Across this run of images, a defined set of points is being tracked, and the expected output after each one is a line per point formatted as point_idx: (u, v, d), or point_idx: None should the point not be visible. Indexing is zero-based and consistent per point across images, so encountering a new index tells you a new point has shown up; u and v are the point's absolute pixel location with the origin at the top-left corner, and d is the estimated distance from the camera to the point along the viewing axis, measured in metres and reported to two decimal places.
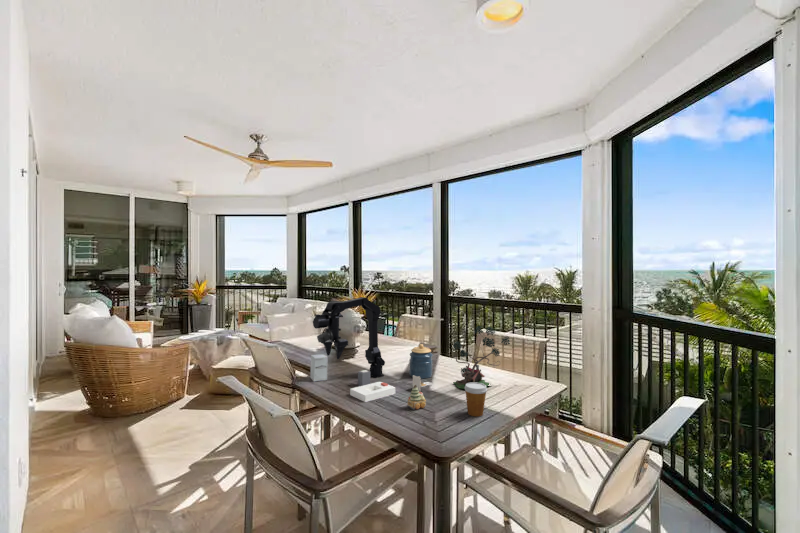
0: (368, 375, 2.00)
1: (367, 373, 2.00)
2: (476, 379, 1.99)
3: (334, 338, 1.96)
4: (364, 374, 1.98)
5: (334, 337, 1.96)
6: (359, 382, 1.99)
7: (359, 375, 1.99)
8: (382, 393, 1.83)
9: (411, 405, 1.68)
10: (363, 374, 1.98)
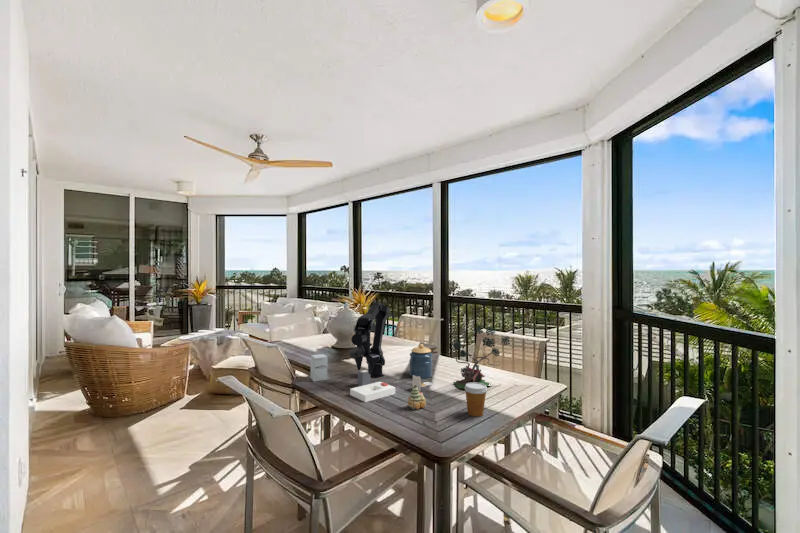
0: (368, 375, 2.00)
1: (367, 373, 1.99)
2: (476, 379, 1.99)
3: (366, 353, 1.98)
4: (364, 374, 1.98)
5: (366, 352, 1.98)
6: (359, 382, 1.99)
7: (359, 375, 1.99)
8: (382, 393, 1.83)
9: (411, 405, 1.68)
10: (363, 374, 1.98)
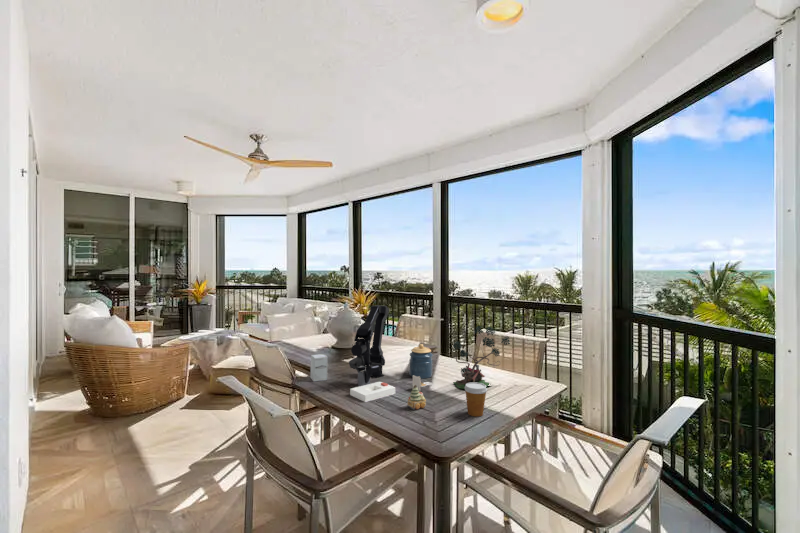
0: None
1: None
2: (476, 379, 1.99)
3: (365, 363, 1.98)
4: (364, 374, 1.98)
5: (365, 362, 1.98)
6: (359, 382, 1.99)
7: (359, 375, 1.99)
8: (382, 393, 1.83)
9: (411, 405, 1.68)
10: (363, 374, 1.98)
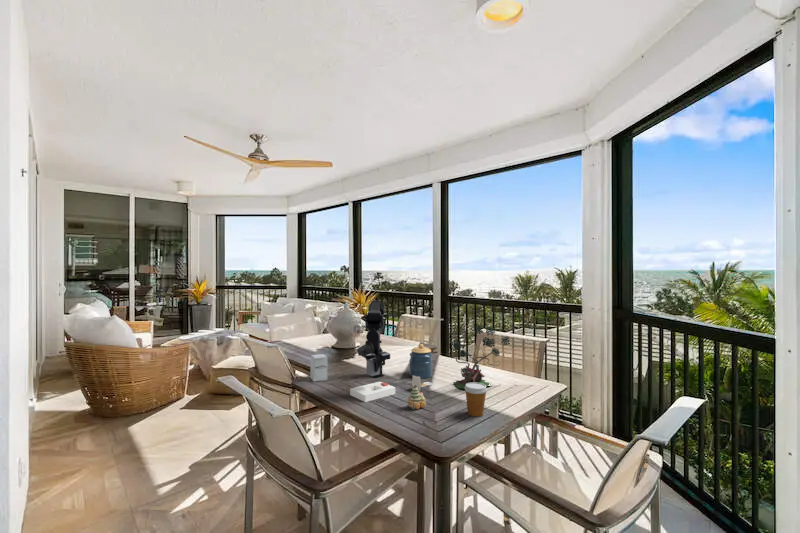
0: None
1: None
2: (476, 379, 1.99)
3: (375, 351, 1.84)
4: (373, 362, 1.84)
5: (375, 350, 1.84)
6: (368, 371, 1.85)
7: (368, 363, 1.85)
8: (382, 393, 1.83)
9: (411, 405, 1.68)
10: (372, 362, 1.84)
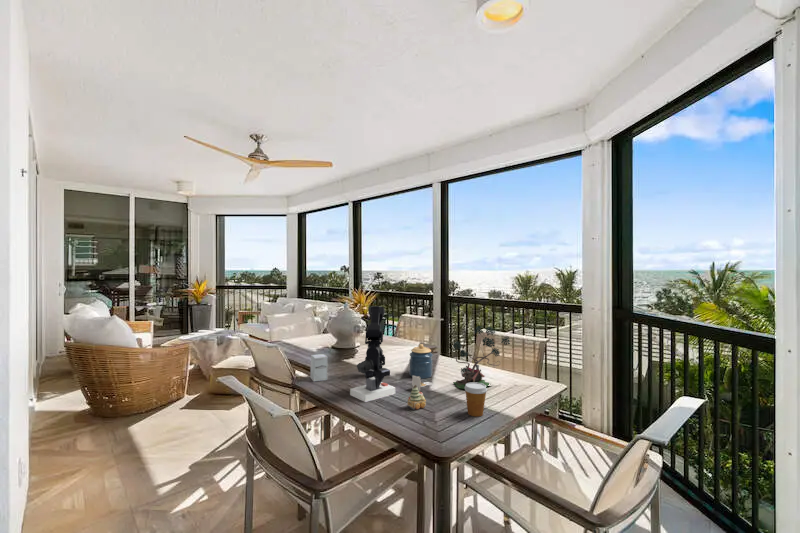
0: None
1: None
2: (476, 379, 1.99)
3: (375, 367, 1.84)
4: (373, 381, 1.84)
5: (375, 366, 1.84)
6: None
7: (368, 382, 1.86)
8: (382, 393, 1.83)
9: (411, 405, 1.68)
10: (372, 381, 1.84)
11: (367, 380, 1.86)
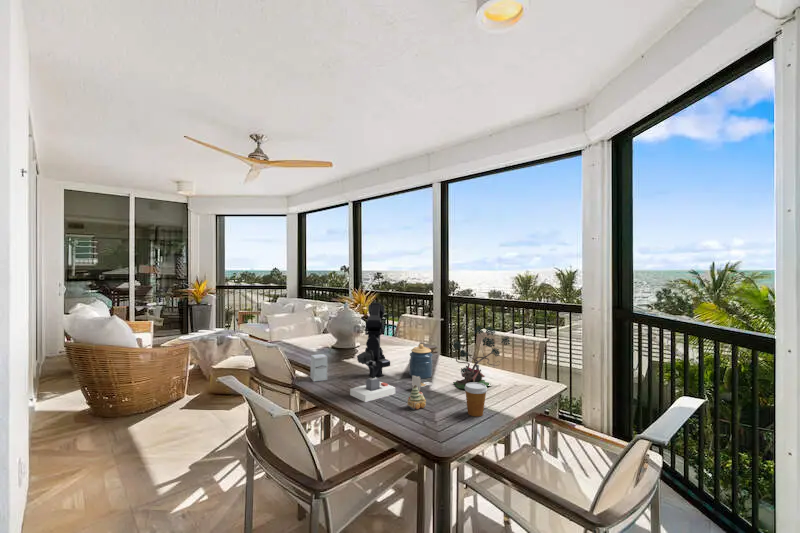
0: (377, 382, 1.86)
1: (376, 380, 1.86)
2: (476, 379, 1.99)
3: (375, 358, 1.84)
4: (373, 381, 1.84)
5: (375, 357, 1.84)
6: None
7: (368, 382, 1.86)
8: (382, 393, 1.83)
9: (411, 405, 1.68)
10: (372, 381, 1.84)
11: (367, 380, 1.86)
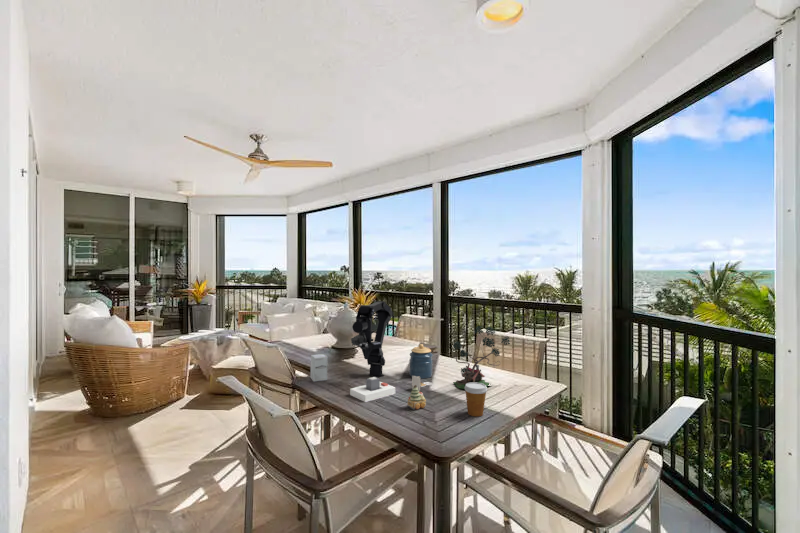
0: (377, 382, 1.86)
1: (376, 380, 1.86)
2: (476, 379, 1.99)
3: (367, 341, 2.02)
4: (373, 381, 1.84)
5: (367, 340, 2.02)
6: None
7: (368, 382, 1.86)
8: (382, 393, 1.83)
9: (411, 405, 1.68)
10: (372, 381, 1.84)
11: (367, 380, 1.86)
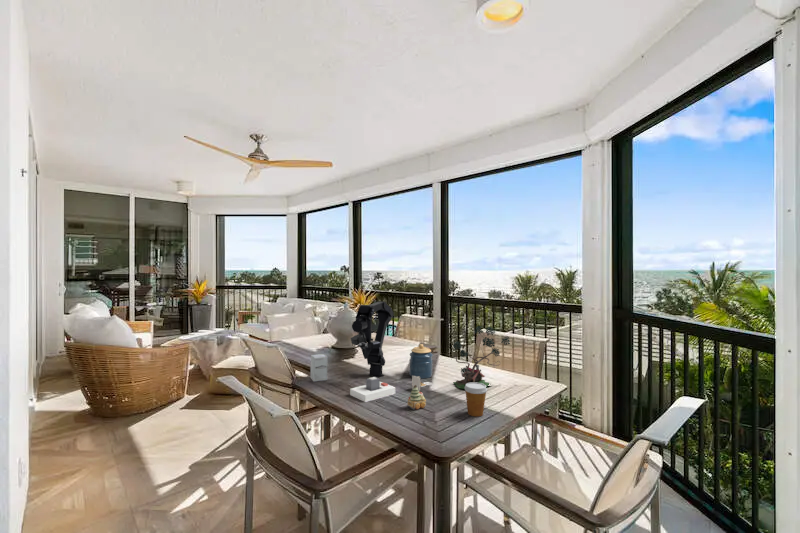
0: (377, 382, 1.86)
1: (376, 380, 1.86)
2: (476, 379, 1.99)
3: (367, 340, 2.02)
4: (373, 381, 1.84)
5: (367, 339, 2.02)
6: None
7: (368, 382, 1.86)
8: (382, 393, 1.83)
9: (411, 405, 1.68)
10: (372, 381, 1.84)
11: (367, 380, 1.86)
